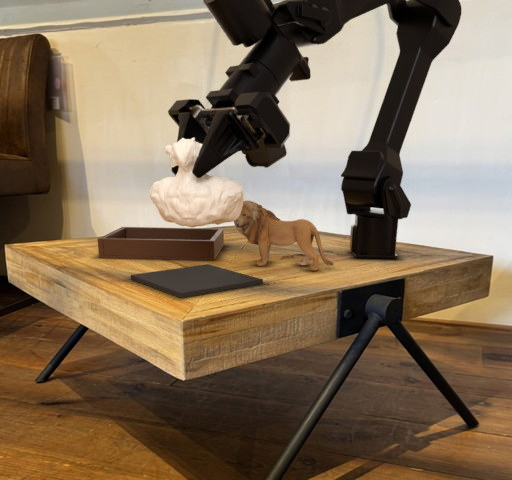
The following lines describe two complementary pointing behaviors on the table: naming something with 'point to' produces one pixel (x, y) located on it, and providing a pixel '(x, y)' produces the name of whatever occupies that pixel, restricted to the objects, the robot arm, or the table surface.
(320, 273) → the table surface
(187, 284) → the charcoal mat
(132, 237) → the walnut tray
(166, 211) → the bust
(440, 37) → the robot arm
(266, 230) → the lion figurine
